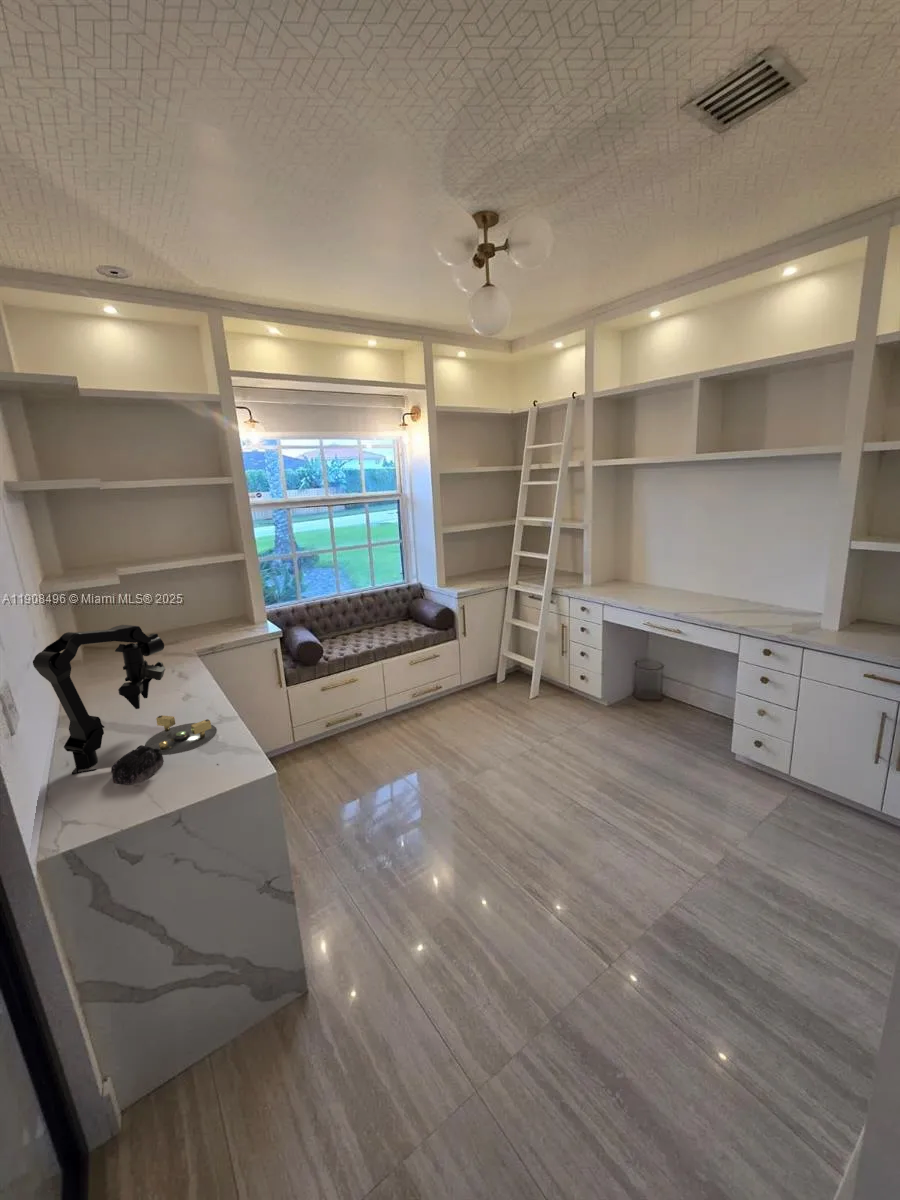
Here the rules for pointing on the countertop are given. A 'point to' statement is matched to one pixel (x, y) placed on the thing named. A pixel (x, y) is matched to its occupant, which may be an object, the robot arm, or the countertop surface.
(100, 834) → the countertop surface
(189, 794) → the countertop surface
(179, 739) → the levelling plate
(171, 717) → the knob far
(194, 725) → the knob near
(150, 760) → the crystal cluster
